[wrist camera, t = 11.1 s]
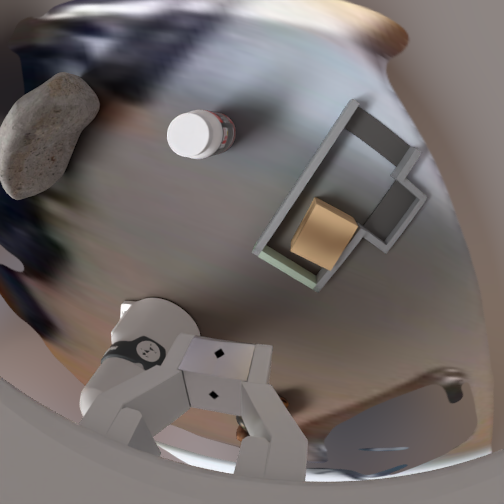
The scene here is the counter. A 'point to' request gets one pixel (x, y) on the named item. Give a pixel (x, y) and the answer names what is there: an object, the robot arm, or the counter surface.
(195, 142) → the pill bottle
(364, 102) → the counter surface
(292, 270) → the channel
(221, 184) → the counter surface
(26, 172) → the decorative stone
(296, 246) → the oak block
